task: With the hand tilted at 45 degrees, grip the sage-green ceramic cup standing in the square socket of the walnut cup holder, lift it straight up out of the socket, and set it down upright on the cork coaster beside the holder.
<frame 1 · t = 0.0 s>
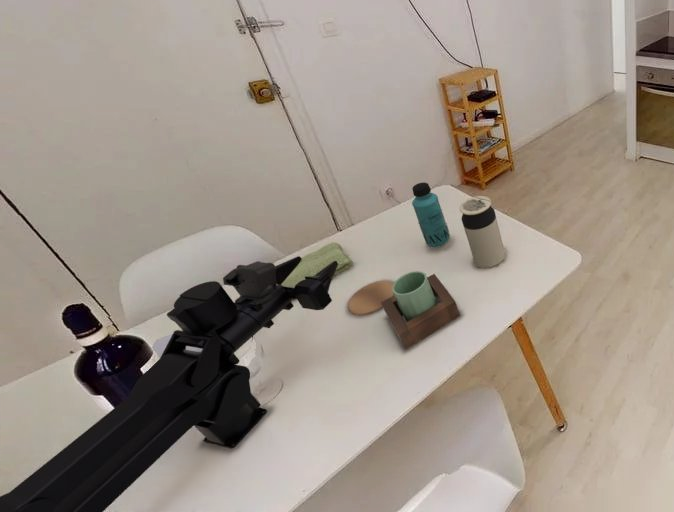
hand: (318, 259, 88), 17 cm above the table, tool horizontal, fingers open, 9 cm apart
beverage bottle: (440, 244, 116), on the table
cup holder: (424, 316, 94), on the table
washcloth: (310, 276, 106), on the table
travel mug: (490, 258, 110), on the table
cup: (417, 300, 91), in the cup holder
charger: (211, 350, 88), on the table
coaster: (373, 297, 99), on the table
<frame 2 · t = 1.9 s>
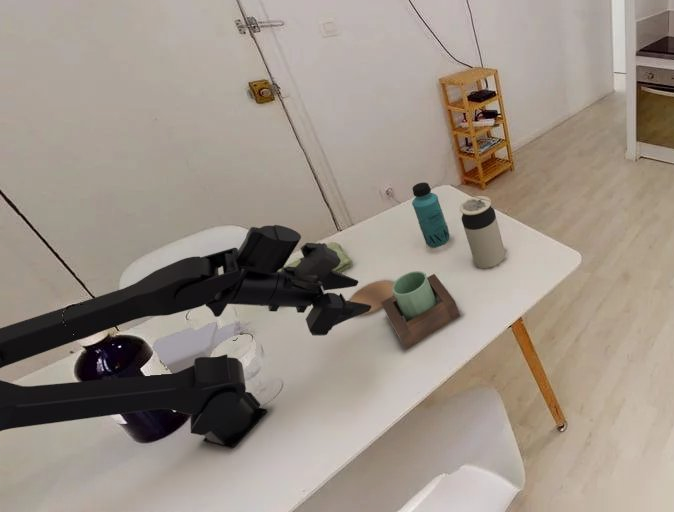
hand: (363, 295, 83), 14 cm above the table, tool tilted 45°, fingers open, 9 cm apart
nothing on the table moved.
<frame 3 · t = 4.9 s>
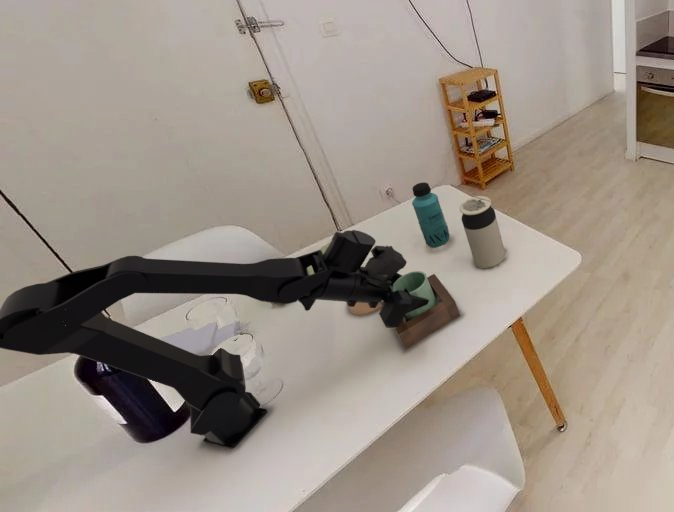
hand: (422, 293, 92), 7 cm above the table, tool tilted 45°, fingers closed on cup, 7 cm apart
cup: (417, 300, 91), in the cup holder, touching gripper
everything else where it was.
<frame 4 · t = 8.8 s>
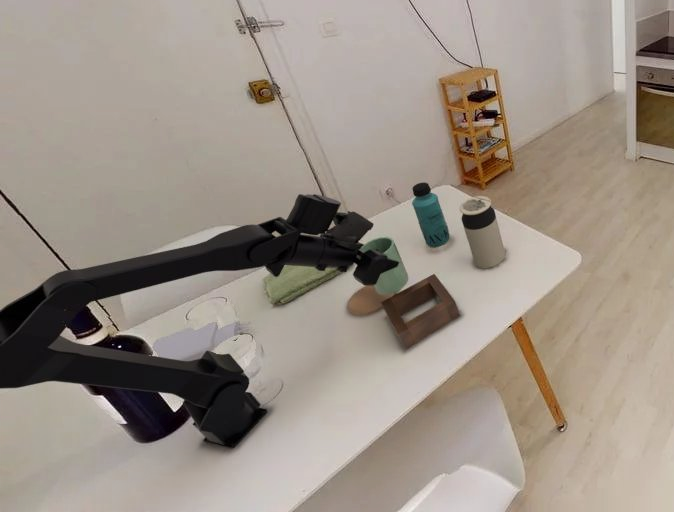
hand: (388, 258, 92), 13 cm above the table, tool tilted 45°, fingers closed on cup, 7 cm apart
cup: (384, 265, 91), point 12 cm above the table, touching gripper
everything else where it was.
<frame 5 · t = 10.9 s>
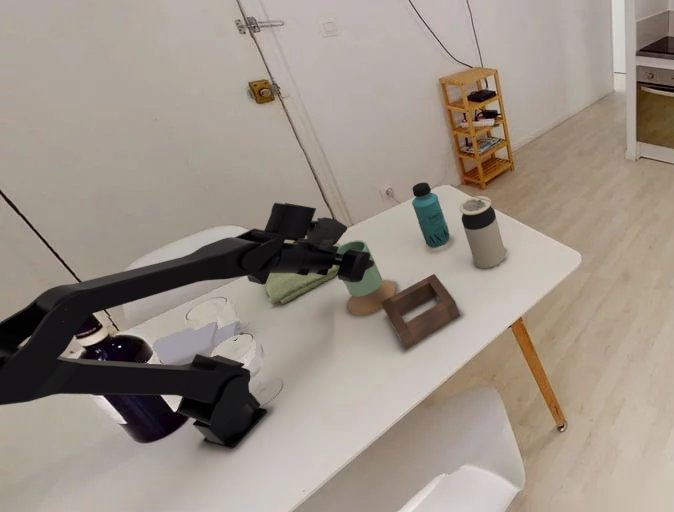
hand: (361, 260, 95), 11 cm above the table, tool tilted 45°, fingers closed on cup, 7 cm apart
cup: (357, 268, 94), point 10 cm above the table, touching gripper
everything else where it was.
when the fingers open (7 cm above the table, at t = 12.6 s): cup stays where it is, resting on coaster.
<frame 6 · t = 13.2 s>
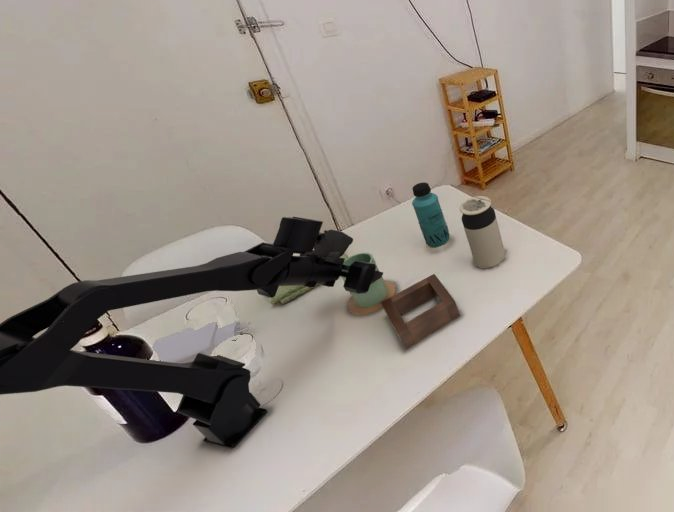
hand: (366, 271, 97), 8 cm above the table, tool tilted 45°, fingers open, 9 cm apart
cup: (364, 280, 96), on the coaster
everything else where it was.
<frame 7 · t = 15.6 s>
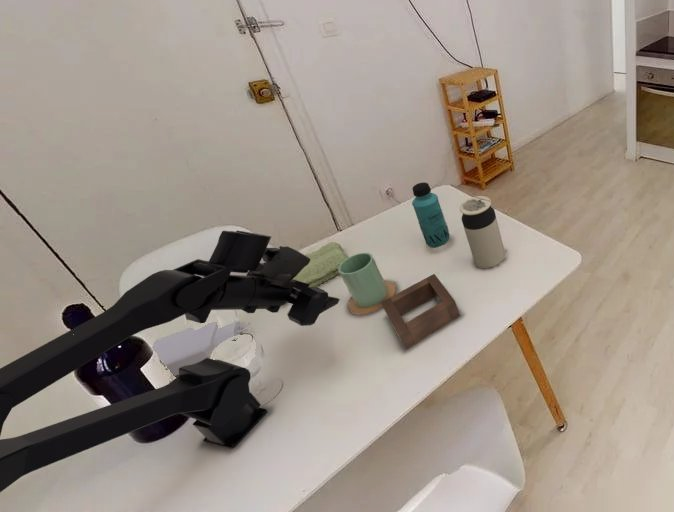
hand: (322, 293, 87), 11 cm above the table, tool tilted 40°, fingers open, 9 cm apart
nothing on the table moved.
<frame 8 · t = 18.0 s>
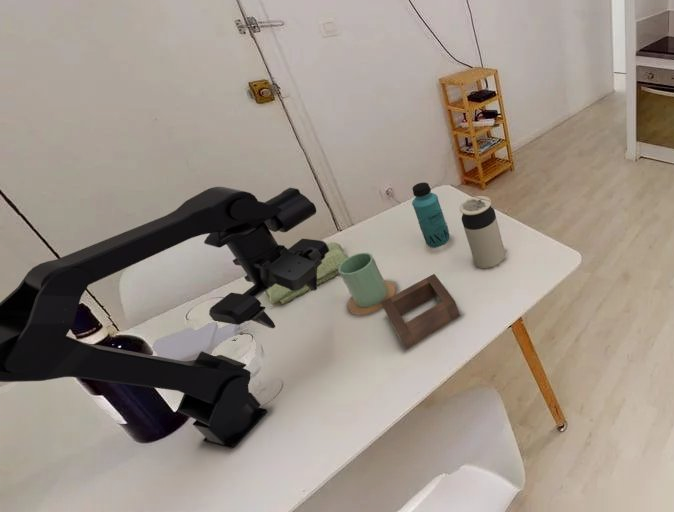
hand: (294, 307, 81), 13 cm above the table, tool pointing down, fingers open, 9 cm apart
nothing on the table moved.
at the end: cup 0.0 cm from the target spot, point 6.0 cm above the table; cup tilted 0°; cup touching coaster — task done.
